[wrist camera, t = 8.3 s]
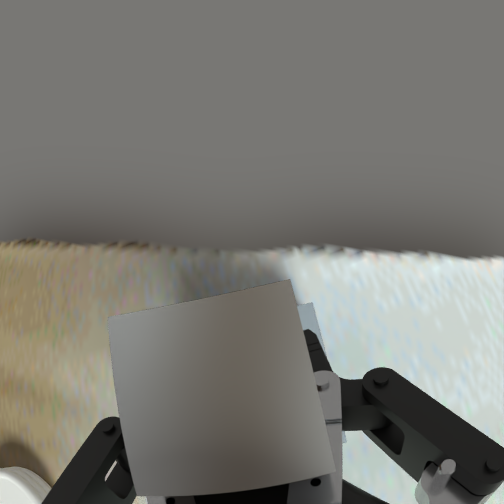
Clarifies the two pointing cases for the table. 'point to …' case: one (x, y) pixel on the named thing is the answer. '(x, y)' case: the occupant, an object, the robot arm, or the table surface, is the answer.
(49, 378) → the table surface
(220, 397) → the rail post
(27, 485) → the white round disc
